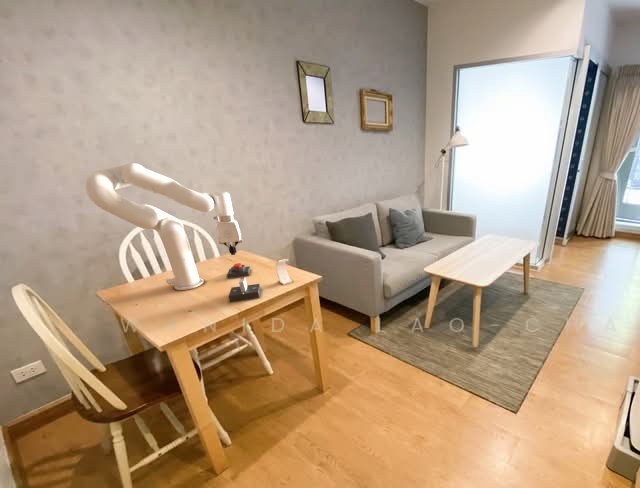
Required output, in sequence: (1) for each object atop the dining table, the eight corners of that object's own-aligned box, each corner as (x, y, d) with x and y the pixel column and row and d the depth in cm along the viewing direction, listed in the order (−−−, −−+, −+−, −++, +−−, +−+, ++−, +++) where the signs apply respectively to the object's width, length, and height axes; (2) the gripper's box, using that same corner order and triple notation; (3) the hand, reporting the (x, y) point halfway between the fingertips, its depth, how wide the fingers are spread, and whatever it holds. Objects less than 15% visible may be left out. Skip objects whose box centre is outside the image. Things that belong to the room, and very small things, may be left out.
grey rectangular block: (245, 291, 146) (243, 281, 144) (241, 292, 145) (238, 282, 143) (247, 286, 151) (244, 276, 148) (243, 287, 150) (240, 277, 148)
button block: (228, 278, 167) (226, 271, 166) (230, 272, 174) (228, 265, 173) (249, 275, 170) (247, 268, 168) (250, 270, 177) (249, 263, 175)
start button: (233, 269, 168) (232, 266, 168) (234, 266, 172) (234, 263, 171) (241, 268, 169) (240, 265, 169) (242, 266, 173) (241, 262, 172)
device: (229, 302, 144) (228, 296, 142) (233, 292, 152) (231, 286, 151) (259, 298, 147) (257, 291, 145) (260, 289, 155) (259, 283, 154)
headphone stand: (283, 284, 159) (278, 261, 154) (278, 280, 163) (273, 258, 158) (292, 282, 162) (288, 259, 156) (287, 278, 166) (283, 255, 161)
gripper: (207, 221, 154) (215, 258, 162) (241, 219, 158) (248, 255, 166) (210, 217, 161) (218, 253, 169) (243, 215, 165) (250, 250, 173)
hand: (233, 254), depth 167 cm, fingers closed
